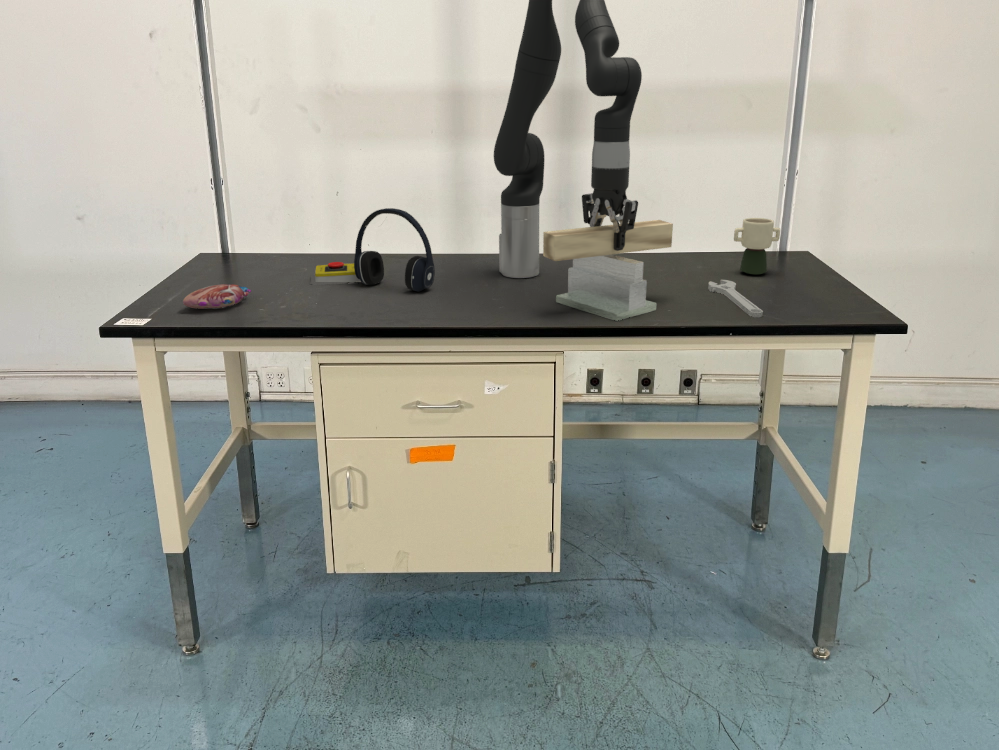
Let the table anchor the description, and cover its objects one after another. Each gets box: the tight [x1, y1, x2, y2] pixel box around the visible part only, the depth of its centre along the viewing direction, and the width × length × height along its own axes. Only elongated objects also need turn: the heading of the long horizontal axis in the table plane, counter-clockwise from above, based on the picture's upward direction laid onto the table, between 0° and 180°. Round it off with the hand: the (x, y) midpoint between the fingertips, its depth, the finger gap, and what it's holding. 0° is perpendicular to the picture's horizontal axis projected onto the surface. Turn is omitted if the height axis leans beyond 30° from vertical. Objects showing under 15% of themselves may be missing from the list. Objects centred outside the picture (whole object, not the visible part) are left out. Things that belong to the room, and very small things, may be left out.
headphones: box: [353, 207, 436, 292], centre depth 184 cm, size 20×7×18 cm, turn 63°
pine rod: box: [542, 219, 674, 262], centre depth 166 cm, size 5×28×5 cm, turn 114°
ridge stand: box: [555, 254, 657, 322], centre depth 169 cm, size 18×12×11 cm, turn 39°
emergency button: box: [314, 261, 360, 282], centre depth 195 cm, size 9×4×15 cm
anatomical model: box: [182, 283, 252, 310], centre depth 175 cm, size 11×6×15 cm
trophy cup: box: [733, 217, 781, 275], centre depth 193 cm, size 11×7×13 cm, turn 89°
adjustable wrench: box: [707, 279, 764, 318], centre depth 174 cm, size 25×6×2 cm, turn 0°
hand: (607, 247), depth 167 cm, fingers closed on pine rod, 5 cm apart
